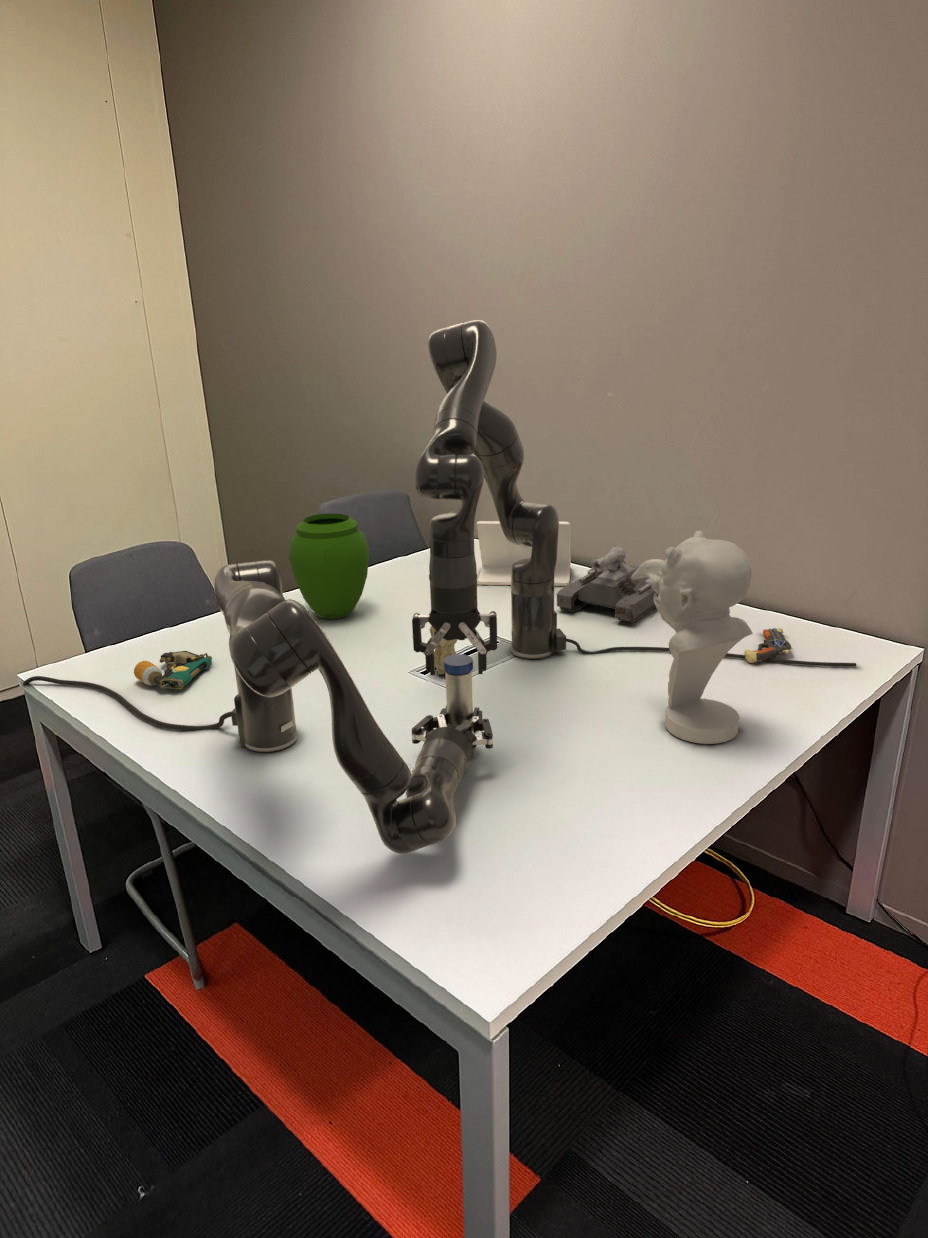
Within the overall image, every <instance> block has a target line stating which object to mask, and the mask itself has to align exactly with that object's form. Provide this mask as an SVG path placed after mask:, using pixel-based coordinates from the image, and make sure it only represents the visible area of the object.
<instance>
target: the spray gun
mask: <svg viewBox="0 0 928 1238" xmlns="http://www.w3.org/2000/svg"><path fill="white" fill-rule="evenodd" d="M212 660H213V657H212V656H211V655H208V653H207V652H205V653H201V654H197V653H194V652H192V651H191V652H190V651H188V650H180V651H169V652H164V653H162V654H161V655H160V658H159V660H158V662H159V663H161V664H163V663H165V664H166V668H165V670H163V672H164V674H163V673H162V669H160V668H159V666H157V665H156V664H154V663H152V662H151V661H149V660H141V661H139V662H138V663H136V665H135V666H134V668H133V675H134V677H135V678H136V679H137V680H139V681H140V682H142V683H143V684H145V685H147V686H155V685H157V686H158V687H160V688H161V689H171V690H172V689H173V690H182V689H184V687H185V686H186V685H188V684H189V683H190V682H191V681H192V679H193V678H195V677H196V676H197V675H198V674H200V673H201V672H202V671H203V670H206V669H208V668H209V667H210V666H211V665H212V662H213V661H212ZM178 663H179V664H181V665H179V666H176V665H177V664H178Z"/></svg>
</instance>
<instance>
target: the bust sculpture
mask: <svg viewBox="0 0 928 1238" xmlns="http://www.w3.org/2000/svg"><path fill="white" fill-rule="evenodd" d="M664 554H665V559H660V558H653V559H648V560H645V561H644V562H642V563H641V564H640V565H639V566H638V567H639V568H638V569H637V570H636V571H635V573H634V574H633V575H632V576H631V578H632V579H634V580H635V579H640V578H644V577H647V578H649V579H650V583H651V587H652V589H653V590H654V591H655V592H656V593H655V594H654V597H653V600H654V604H655V605H656V607H655V608H656V611H657V612H658V614H659V615H660V618H661V619H662V620H663V622H665V623H666V624H667V625H668V626H669V627H670V628H671V629H672V630H673V631H675V634H673V635H672V636H671V638H669V641H668V648H669V649H670V651H669V653H670V654H671V657H672V658H673V660H672V663H671V666H670V669H669V673H668V682H667V694H668V696H667V697H668V700H667V705H668V706H666V708H665V718H664V726H665V728H666V730H667V731H668V732H669V733H670V734H671V735H673V736H675V737H676V738H679V739H680V740H683V741H687V742H691V743H696V744H703V745H713V744H721V743H726V742H729V741H731V740H733V739H734V738H736V736H738V733H739V729H740V728H739V727H740V715H739V714H740V713H738V711H737V710H736V709H735V708H734V707H732V706H730V705H728V704H727V703H724V702H721V701H719V700H714V699H709V698H702V696H703V695H704V694H703V693H704V692H705V690H706V687H707V685H708V684H709V681H710V680H711V678H712V676H713V674H714V673H715V671H716V670H717V668H718V667H719V665H720V664H721V662H722V661H723V660H724V658H725V655H726V654H727V653H729V652H730V651H731V650H732V649H733V648H734V647H735V646H736V645H738V643H739V642H741V641H742V640H743V639H745V638H747V637H749V636H751V635H753V634H754V632H753V630H752V629H751V628H750V626H749V624H748V623H747V622H746V621H745V620H744V619H743V618H740V617H737V616H731V614H730V613H731V610H730V608H732V607H734V606H736V605H737V604H739V603H740V602H741V601H742V600H744V599H745V597H746V595H747V594H748V592H749V590H750V586H751V583H752V574H753V573H752V572H753V571H752V565H751V561H750V559H749V557H748V555H747V554H746V552H745V551H744V550H743V549H742V548H741V547H740V546H739V545H737V544H736V543H734V542H731V541H728V540H723V539H711V538H707V536H706V534H705V532H703V530H696V531H694V533H693V536H691V537H689V538H687V539H684V541H682V542H681V543H679V544H678V545H677V546H675V547H674V546H669V547H667V548H666V551H665V553H664Z"/></svg>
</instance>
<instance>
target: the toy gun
mask: <svg viewBox="0 0 928 1238" xmlns="http://www.w3.org/2000/svg"><path fill="white" fill-rule="evenodd" d="M762 634H763V642H761V643H759V644H758V648H757V650H750V649H745V650H744V651H743V655H745V656H746V659H745V660H746V661H747V662H748V663H750V664H751V663H756V662H761V661H760V660H764V659H767V658H775V657H776V656H780V655H782V654H785V653H786V654H789V653H790V651H791V650H793V649H794V648H793V647H792V645H791V643H790V642H789V641H788V640H787V639H786V638H785V636H784V629H783V628H781V627H779V628H778V627H777V628H776V627H773V628H768V629H767V628H766V629H763V630H762Z"/></svg>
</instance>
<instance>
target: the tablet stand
mask: <svg viewBox="0 0 928 1238" xmlns="http://www.w3.org/2000/svg"><path fill="white" fill-rule="evenodd" d="M476 531H477V537H478V544H479V551H480V557H481V558H480V559H481V570H480V573H479V575H478V576H477V585H484V586H485V585H486V586H487V585H489V586H490V585H491V586H511V567H512V565H513V563H515V562H516V561H519V560H522V559H526V558H531V552H532V547H528V546H522V545H517V544H513V543H511V542H510V541H508V540H507V539H506V537H505V535H504V533H503V531H502V528H501V525H500V522H499V520H477V522H476ZM571 560H572V558H571V522H569V521H559V534H558V548H557V562H556V566H555V571H554V587H556V586H557V587H566V586H567V585H569V584H570V580H571V579H570V578H571V565H572V564H571Z"/></svg>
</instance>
